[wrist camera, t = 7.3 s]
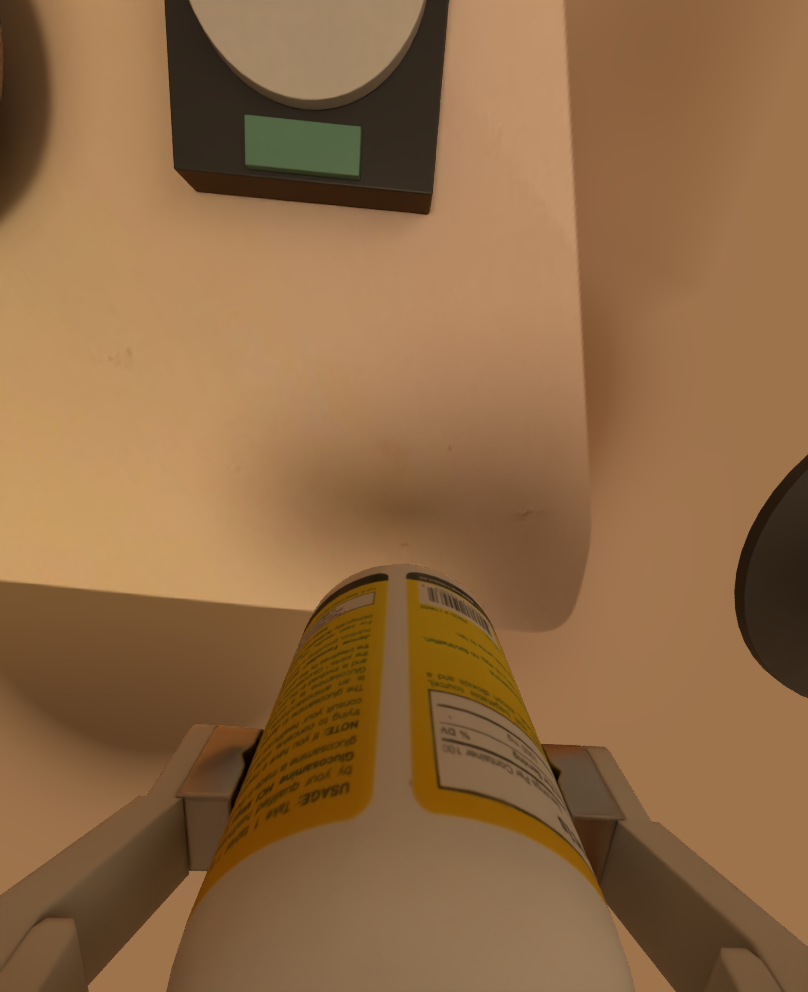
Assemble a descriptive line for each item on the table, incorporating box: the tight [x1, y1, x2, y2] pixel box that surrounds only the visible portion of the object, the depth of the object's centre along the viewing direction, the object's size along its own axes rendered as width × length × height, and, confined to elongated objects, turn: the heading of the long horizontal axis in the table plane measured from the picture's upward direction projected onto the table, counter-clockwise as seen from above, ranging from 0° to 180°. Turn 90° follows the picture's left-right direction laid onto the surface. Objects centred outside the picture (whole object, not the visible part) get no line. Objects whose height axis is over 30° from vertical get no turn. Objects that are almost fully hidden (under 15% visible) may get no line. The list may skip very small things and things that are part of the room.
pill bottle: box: [167, 564, 635, 992], centre depth 7 cm, size 6×6×11 cm
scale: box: [165, 0, 449, 214], centre depth 20 cm, size 14×16×3 cm
